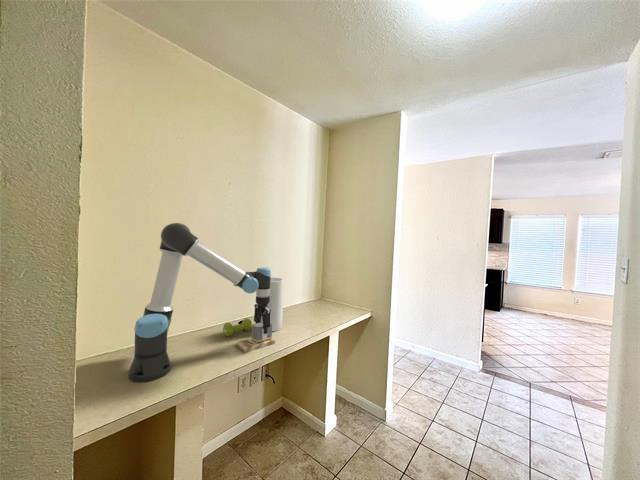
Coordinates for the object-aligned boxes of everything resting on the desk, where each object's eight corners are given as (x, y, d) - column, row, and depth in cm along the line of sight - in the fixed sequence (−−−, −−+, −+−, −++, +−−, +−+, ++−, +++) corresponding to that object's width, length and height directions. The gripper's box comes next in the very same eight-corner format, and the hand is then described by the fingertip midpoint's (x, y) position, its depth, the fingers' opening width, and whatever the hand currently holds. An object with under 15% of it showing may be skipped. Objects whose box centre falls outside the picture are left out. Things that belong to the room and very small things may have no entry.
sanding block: (257, 342, 141) (257, 327, 140) (251, 338, 145) (252, 324, 145) (271, 338, 147) (272, 324, 146) (265, 334, 151) (266, 321, 151)
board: (245, 352, 134) (245, 348, 134) (236, 345, 142) (236, 341, 142) (275, 343, 146) (275, 340, 146) (265, 337, 154) (266, 334, 154)
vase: (268, 334, 158) (271, 282, 157) (254, 327, 168) (256, 278, 167) (286, 328, 169) (288, 279, 168) (272, 322, 179) (274, 276, 177)
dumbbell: (227, 338, 150) (228, 326, 150) (221, 334, 155) (221, 322, 155) (252, 331, 162) (253, 320, 162) (246, 327, 167) (246, 316, 167)
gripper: (278, 298, 140) (276, 341, 141) (260, 291, 154) (258, 330, 155) (265, 300, 135) (264, 344, 136) (248, 292, 149) (246, 333, 150)
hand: (261, 336), depth 146 cm, fingers closed on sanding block, 6 cm apart
